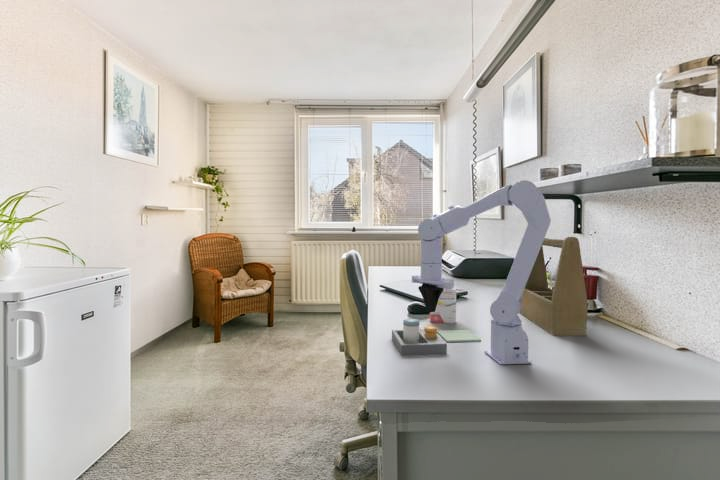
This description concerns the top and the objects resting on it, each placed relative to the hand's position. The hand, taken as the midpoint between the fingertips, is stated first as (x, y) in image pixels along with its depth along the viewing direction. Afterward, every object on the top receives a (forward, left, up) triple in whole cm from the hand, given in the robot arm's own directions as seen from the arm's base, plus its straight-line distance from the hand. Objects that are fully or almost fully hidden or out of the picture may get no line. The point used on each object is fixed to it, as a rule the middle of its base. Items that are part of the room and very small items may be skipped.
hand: (430, 311), depth 106 cm
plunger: (0, 0, -7) cm, 7 cm away
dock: (0, +4, -9) cm, 10 cm away
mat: (+7, -10, -9) cm, 16 cm away
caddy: (+19, -46, -10) cm, 51 cm away
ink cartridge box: (+25, -11, -10) cm, 29 cm away
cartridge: (0, +5, -9) cm, 11 cm away
